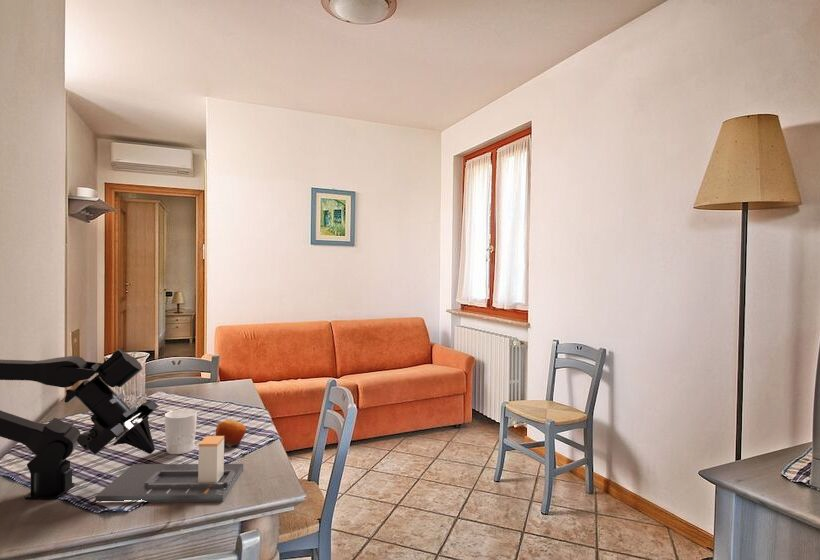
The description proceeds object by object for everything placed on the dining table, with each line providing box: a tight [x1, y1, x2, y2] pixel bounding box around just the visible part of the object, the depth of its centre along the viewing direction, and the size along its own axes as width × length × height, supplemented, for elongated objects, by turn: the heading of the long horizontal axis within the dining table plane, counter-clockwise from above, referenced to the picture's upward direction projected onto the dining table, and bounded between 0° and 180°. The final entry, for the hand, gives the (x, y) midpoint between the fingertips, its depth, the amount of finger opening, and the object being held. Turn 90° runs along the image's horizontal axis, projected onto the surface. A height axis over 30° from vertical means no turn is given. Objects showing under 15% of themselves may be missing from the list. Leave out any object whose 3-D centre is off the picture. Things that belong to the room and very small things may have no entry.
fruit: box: [215, 419, 247, 450], centre depth 133 cm, size 8×8×8 cm
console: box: [94, 463, 244, 504], centre depth 108 cm, size 26×16×2 cm, turn 95°
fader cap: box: [197, 435, 225, 483], centre depth 108 cm, size 4×5×9 cm
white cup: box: [164, 408, 198, 455], centre depth 128 cm, size 8×8×10 cm
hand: (152, 452), depth 107 cm, fingers closed
